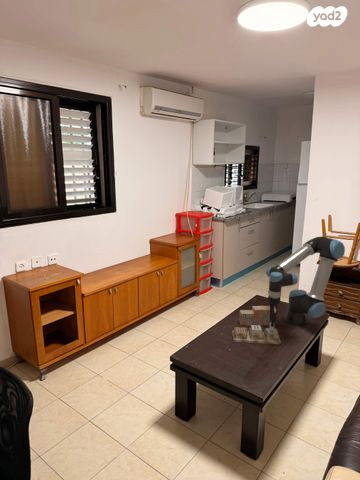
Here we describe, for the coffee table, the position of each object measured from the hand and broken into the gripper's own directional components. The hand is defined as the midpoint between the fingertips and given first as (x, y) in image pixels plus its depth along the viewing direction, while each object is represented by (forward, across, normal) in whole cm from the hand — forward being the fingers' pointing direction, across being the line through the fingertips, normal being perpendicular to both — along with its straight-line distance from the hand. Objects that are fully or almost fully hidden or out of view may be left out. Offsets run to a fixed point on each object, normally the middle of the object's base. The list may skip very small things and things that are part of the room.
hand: (271, 330), depth 212 cm
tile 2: (+2, 0, -10) cm, 10 cm away
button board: (+7, 0, -10) cm, 12 cm away
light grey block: (+4, 0, 0) cm, 4 cm away
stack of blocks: (+7, -21, -8) cm, 23 cm away
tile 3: (+5, 0, -20) cm, 20 cm away
